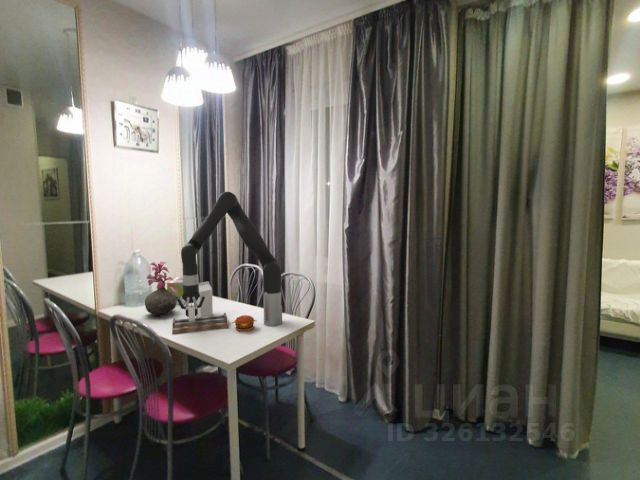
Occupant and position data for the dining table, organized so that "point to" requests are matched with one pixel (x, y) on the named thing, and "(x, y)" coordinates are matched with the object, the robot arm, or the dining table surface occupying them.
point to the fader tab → (191, 312)
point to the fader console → (199, 324)
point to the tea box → (178, 285)
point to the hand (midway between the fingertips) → (191, 316)
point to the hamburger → (244, 323)
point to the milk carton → (205, 300)
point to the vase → (160, 293)
